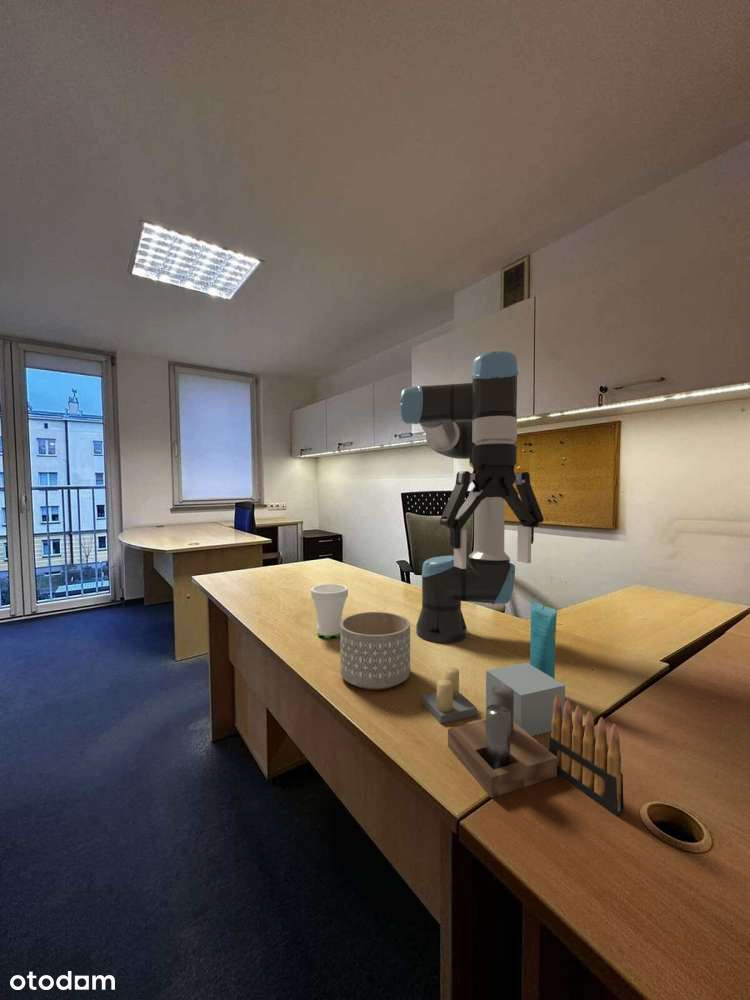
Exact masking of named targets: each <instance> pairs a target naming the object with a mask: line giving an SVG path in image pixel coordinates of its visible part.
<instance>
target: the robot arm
mask: <svg viewBox="0 0 750 1000" xmlns="http://www.w3.org/2000/svg"><path fill="white" fill-rule="evenodd" d="M518 375H519V371H518V359H517V356H516V355H515V354H514V353H512V352H510V351H507V350H506V351H503V350H495V351H488V352H485V353H481V354H479V355H478V356H477V357H475V358H474V360H473V362H472V373H471V378H472V382H467V383H465V382H464V383H463V382H462V383H452V384H450V383H449V384H436V385H435V384H434V385H433V384H432V385H415V386H409V387H406V388H404V389H403V390H401V393H400V399H399V401H400V403H399V405H400V407H399V409H400V416H401V419H402V422H403V423H405V424H411V425H413V424H414V425H418V424H419V425H420V426H421V428H422V430H423V431H424V433H425V440H426V443H427V445H428V446H429V447H430V449H432V450H433V452H434V451H435V453H438V454H440V455H442V456H444V457H447V458H451V459H456V460H458V459H460V460H464V459H465V460H469V461H468V463H469V467H471V468H472V469H473V470H472V472H470V471H469V470H464V471H457V473H456V476H455V477H456V478H455V485H454V488H452V489H453V490H452V491H451V494H450V497H448V501H447V503H446V505H445V507H444V510H443V512H442V515H441V517H440V519H439V524H440V525H441V526H444V527H446V528H448V529H449V530H450V531H449V546H450V548H451V549H453V555H441V556H434V557H430V558H428V559H426V560H424V562H423V563H422V568H421V569H422V570H421V571H422V572H421V584H422V585H421V587H422V588H421V610H420V613H419V616H418V619H417V623H416V633H415V634H416V635H417V636H418V637H419V638H420V639H423V640H425V641H429V642H434V643H440V644H441V643H443V644H444V643H445V644H447V643H457V642H460V641H464V640H465V639H467V636H468V633H467V631H468V630H467V629H468V628H467V624H466V621H465V618H464V615H463V612H462V602H466V603H467V602H469V603H481V604H482V603H483V604H492V605H495V604H498V605H499V604H501V605H502V604H503V605H506V604H508V603H509V602H510V601H511V600H512V598H513V594H514V587H515V579H516V575H515V574H516V565H515V564H514V563H512V562H511V561H510V560H511V557H510V556H509V555H508V554H507V553H506V552H505V508H506V507H505V505H506V504H507V505H508V507H509V508H510V510H512V512H513V514H514V515H515V516H516V518H517V520H518V521H519V522H520V525H518V526H517V552H516V553H517V554H516V555H517V559H516V561H517V562H521V563H524V564H531V563H532V545H533V544H534V540H535V538H534V537H535V536H534V535H535V533H534V532H535V529H534V528H537V527H539V525H540V524H541V523H543V522H544V520H545V519H544V515H543V513H542V511H541V508H540V506H539V503H538V500H537V498H536V495H535V493H534V490H533V486H532V485H531V477H530V473H529V472H528V471H523V472H522V471H520V472H519V471H518V472H516V473H515V467H516V465H517V457H518V455H517V449H518V447H517V446H516V442H517V441H518V417H517V415H518V414H517V409H518V408H517V404H518ZM472 483H473V487H472V488H471V490H470V492H469V493H468V497H467V498H466V500H465V501H464V499H465V497H466V495H467V492H468V490H469V488H470V487H469V486H470V485H471V484H472ZM514 484H515V486H514ZM515 487H516V488H515ZM505 502H506V504H505ZM472 515H473V523H474V526H473V527H474V528H473V551H472V552H471V553H470V554H469V555H468V561H467V530H466V529H462V528H463V527H464V526H465V525H466V523H467V522H468V520H469V519H470V517H471V516H472Z"/></svg>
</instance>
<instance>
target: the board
mask: <svg viewBox="0 0 750 1000" xmlns="http://www.w3.org/2000/svg"><path fill="white" fill-rule="evenodd" d="M443 672H444V678H443V679H439V680H437V681H436V691H434V692H430V693H423V694H421V697H420V699H421V700H420V701H421V703H422V705H423V706H424V707H425V708H426V709H427V710H428V711H429V713H430V714H431V715H433V717H434V719H435V720H437V722H438V723H440V724H441V725H442V724H445V723H450V722H453V721H454V722H456V721H459V720H463V719H467V718H470V717H475V716H477V715H478V713H477V712H478V707H477V706H476V705H474V704H473V703H472V702H471V700H469V699H468V698H467V697H466V696H465V695H463V693H461V692H460V670H459V669H458V668H457V667H452V666H450V667H445V668H444V671H443Z"/></svg>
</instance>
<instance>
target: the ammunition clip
mask: <svg viewBox="0 0 750 1000" xmlns="http://www.w3.org/2000/svg"><path fill="white" fill-rule="evenodd" d="M583 722H584V721H583V712H582V708H581V706H580V705H579V704H577V705H576V708H575V710H574V715H573V711H572V706H571V701H570V700H569V698H568V699H565V706H564V712H563V720H562V706H561V700H560V697H559V695H558V694H557V695H556V697H555V700H554V707H553V717H552V732H550V733H551V736H549V741H548V742H549V743H548V744H549V745H548V750H549V751H550V752H551V753H552V754H554V755H555V756H556V757H557V776H559V777H561V778H562V779H563V780H565V781H566V782H568V783H569V784H570V785H572V786H573V787H575V788H576V789H577V790H579V791H580V792H581V793H583V794H584V795H586V796H587V797H589V798H590V799H591V800H593V801H594V802H596V803H597V804H598V805H600V806H601V807H603V809H605V810H607V811H608V812H609V813H611V814H612V815H614V816H615V817H616V816H618V815H620V814H621V813H623V812H624V811H625V805H624V774H623V773H622V755H621V746H620V733H619V729H618V726H617V724H616V723H613V724H612V726H611V728H610V732H609V740H608V738H607V727H606V721H605V719H604V717H602V716H601V717H600V718H599V720H598V722H597V728H596V734H595V721H594V717H593V714H592V710H588V712H587V714H586V717H585V723H583ZM595 735H596V737H595ZM608 741H609V743H608Z"/></svg>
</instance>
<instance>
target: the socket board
mask: <svg viewBox="0 0 750 1000" xmlns="http://www.w3.org/2000/svg"><path fill="white" fill-rule="evenodd" d="M491 705H501V706H504V707H506V708H507V709H509V710H510V712H511V735H510V765H508V766H504V767H501V768H498V769H494V770H493V769H492V768H491V767H490V766H489V764H488V763H487V762H486V719H483V720H479V721H475V722H472V723H467V724H463V725H459V726H458V725H457V726H454V727H451V728H447V747H448V748H449V749H450V750H451V752H452V753H453V754H454V755H455V756H456V758H457V759H458V760H459V761H460V763H462V765H463V766H464V767H465V768H466V770H467V771H468V772H469V774H471V776H472V777H473V778H474V780H476V781H477V783H478V784H479V785H480V786H481V787H482V788H483V790H484V791H485V792H486V794H488V796H489V797H490V798H491V799H494V798H496V797H499V796H502V795H505V794H508V793H511V792H514V791H517V790H520V789H523V788H526V787H530V786H533V785H536V784H539V783H541V782H544V781H548V780H550V779H551V780H552V779H554V778H557V777H558V774H557V757H556V756H555V755H554V754H552V753H551V752H550V751H549V749H548V748H546V747H545V746H544V745H542V743H541V742H539V741H538V740H537V739H535V738H534V737H532V736H531V735H529V734H528V733H527V732H526V731H525V730H523V729H522V728H521V727H520V726H518V725H517V724H516V723H515V722H514V690H513V689H512V688H511V687H509V686H506V685H500V684H499V685H494V686H492V693H491Z"/></svg>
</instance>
